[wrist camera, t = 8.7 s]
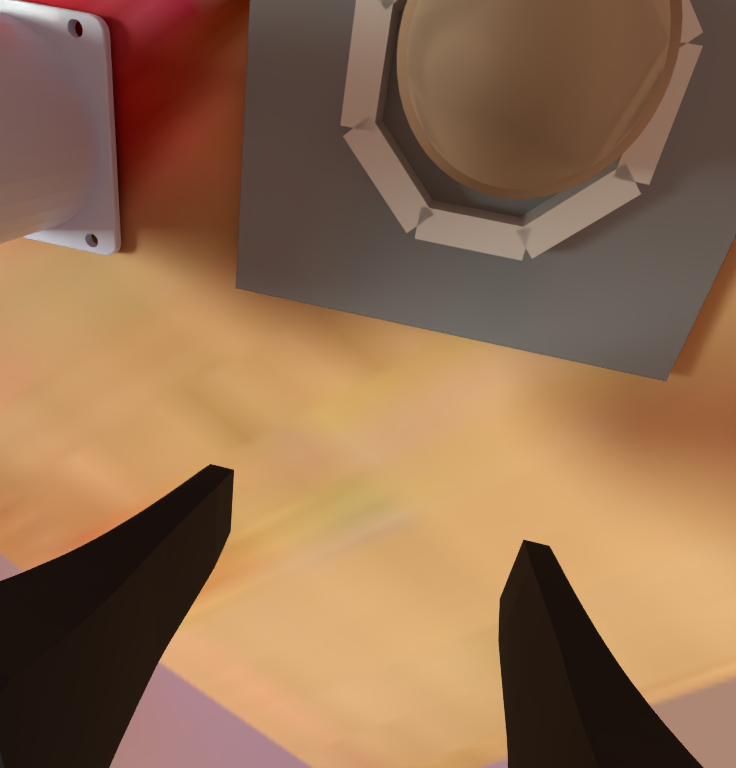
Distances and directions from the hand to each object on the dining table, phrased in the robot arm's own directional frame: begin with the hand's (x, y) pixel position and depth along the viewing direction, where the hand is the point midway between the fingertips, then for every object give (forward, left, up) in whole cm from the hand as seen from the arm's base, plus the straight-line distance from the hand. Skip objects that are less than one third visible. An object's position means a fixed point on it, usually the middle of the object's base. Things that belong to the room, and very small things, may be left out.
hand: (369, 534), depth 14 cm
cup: (+1, +11, -9) cm, 14 cm away
